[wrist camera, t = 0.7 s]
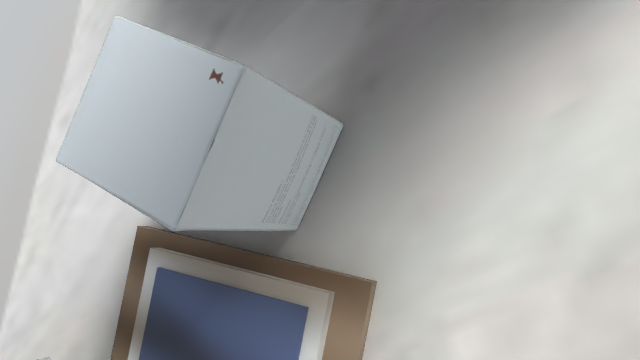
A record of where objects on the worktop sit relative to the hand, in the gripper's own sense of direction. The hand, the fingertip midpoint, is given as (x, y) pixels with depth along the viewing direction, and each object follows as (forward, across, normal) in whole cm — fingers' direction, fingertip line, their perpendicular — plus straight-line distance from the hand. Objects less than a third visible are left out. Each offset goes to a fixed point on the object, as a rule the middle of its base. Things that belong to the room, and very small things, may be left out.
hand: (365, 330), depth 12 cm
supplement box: (+23, -3, -6) cm, 24 cm away
